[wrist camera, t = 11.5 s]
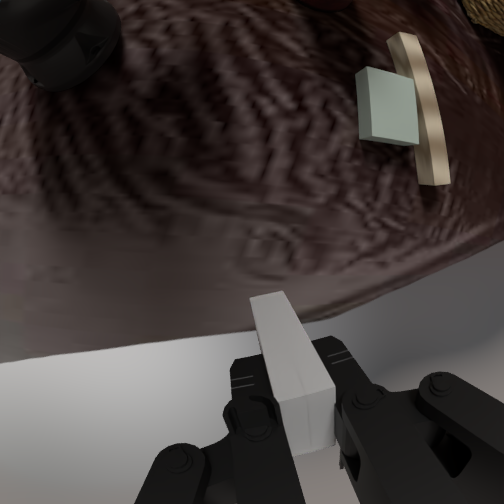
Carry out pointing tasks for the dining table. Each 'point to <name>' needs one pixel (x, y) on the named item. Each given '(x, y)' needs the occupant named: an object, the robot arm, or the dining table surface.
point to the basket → (486, 13)
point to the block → (386, 107)
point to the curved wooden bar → (422, 110)
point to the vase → (326, 5)
